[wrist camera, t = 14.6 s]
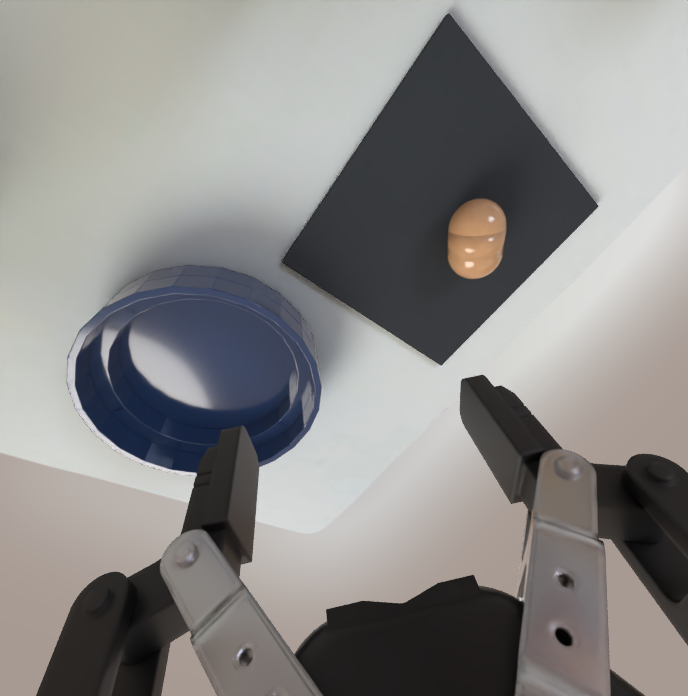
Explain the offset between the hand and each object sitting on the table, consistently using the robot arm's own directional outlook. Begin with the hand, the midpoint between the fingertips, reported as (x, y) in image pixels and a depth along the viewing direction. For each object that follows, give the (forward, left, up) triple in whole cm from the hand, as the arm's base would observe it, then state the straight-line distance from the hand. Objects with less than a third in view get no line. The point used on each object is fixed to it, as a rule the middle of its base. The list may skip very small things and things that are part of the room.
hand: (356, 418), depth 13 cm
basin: (+9, -12, -20) cm, 25 cm away
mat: (0, +11, -20) cm, 23 cm away
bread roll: (0, +11, -19) cm, 22 cm away
